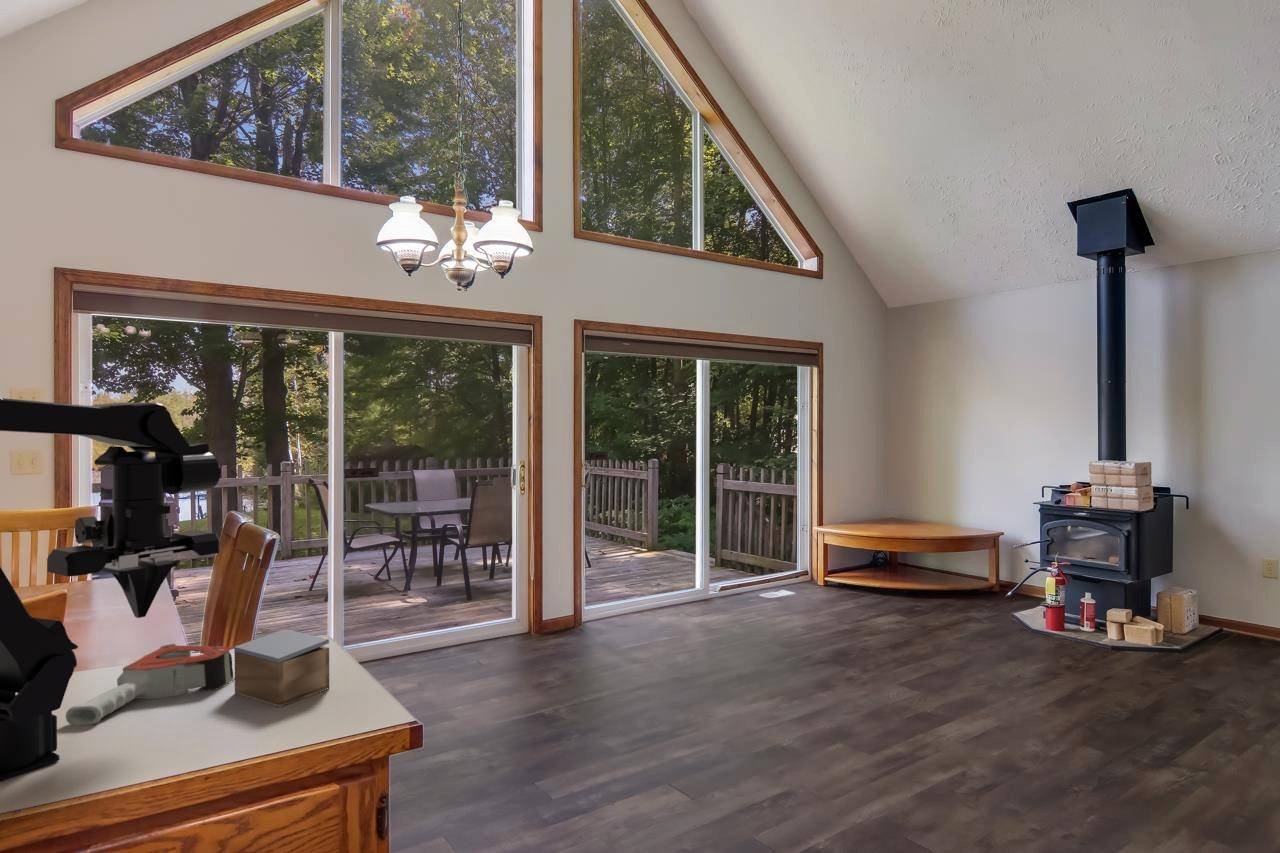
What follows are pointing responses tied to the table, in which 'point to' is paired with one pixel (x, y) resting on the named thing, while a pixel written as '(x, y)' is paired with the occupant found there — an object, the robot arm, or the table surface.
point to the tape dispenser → (159, 679)
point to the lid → (281, 645)
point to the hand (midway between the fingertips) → (140, 617)
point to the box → (282, 676)
